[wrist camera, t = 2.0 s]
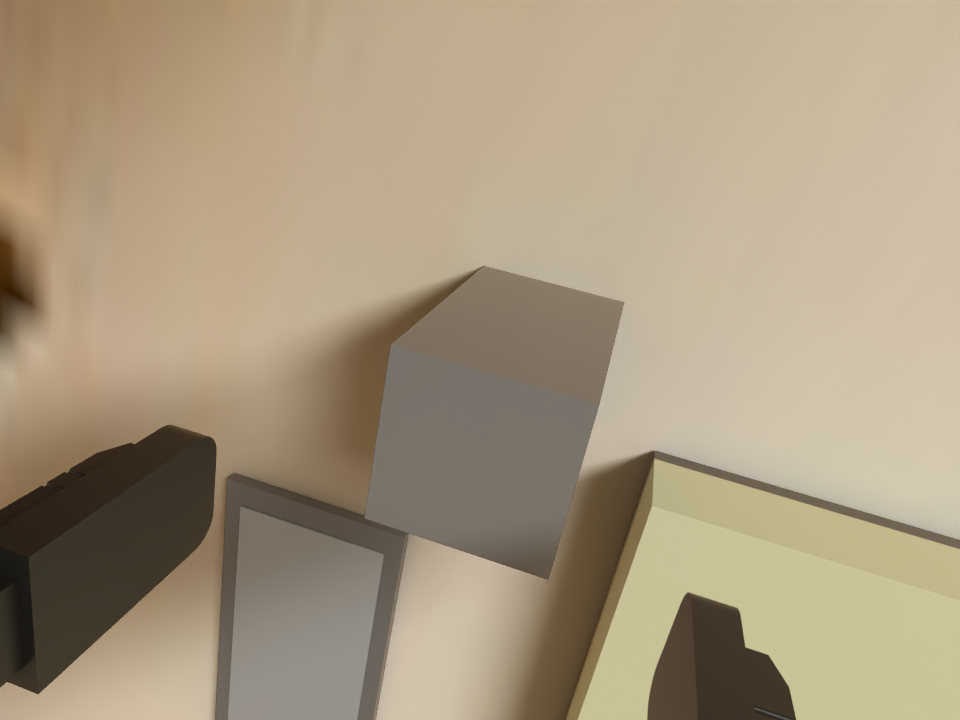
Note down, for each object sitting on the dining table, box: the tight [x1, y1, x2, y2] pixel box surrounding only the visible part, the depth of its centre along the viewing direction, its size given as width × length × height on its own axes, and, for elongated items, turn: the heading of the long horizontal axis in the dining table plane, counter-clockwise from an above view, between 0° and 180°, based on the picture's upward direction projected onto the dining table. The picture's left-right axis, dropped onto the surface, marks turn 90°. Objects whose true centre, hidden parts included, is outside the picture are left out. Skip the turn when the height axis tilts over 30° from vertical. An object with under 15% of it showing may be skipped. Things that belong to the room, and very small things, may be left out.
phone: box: [215, 473, 409, 720], centre depth 26 cm, size 13×7×1 cm, turn 169°
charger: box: [365, 266, 624, 580], centre depth 16 cm, size 4×4×7 cm
